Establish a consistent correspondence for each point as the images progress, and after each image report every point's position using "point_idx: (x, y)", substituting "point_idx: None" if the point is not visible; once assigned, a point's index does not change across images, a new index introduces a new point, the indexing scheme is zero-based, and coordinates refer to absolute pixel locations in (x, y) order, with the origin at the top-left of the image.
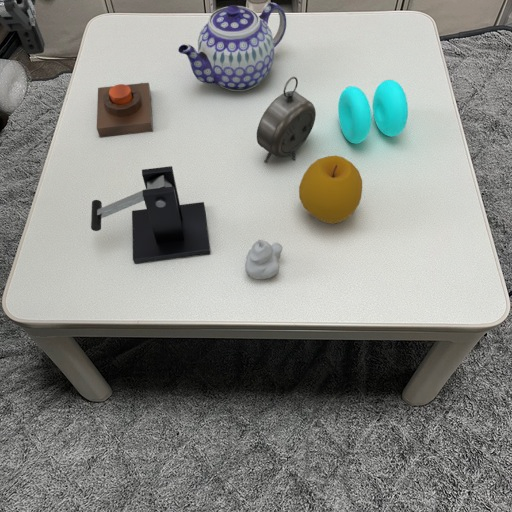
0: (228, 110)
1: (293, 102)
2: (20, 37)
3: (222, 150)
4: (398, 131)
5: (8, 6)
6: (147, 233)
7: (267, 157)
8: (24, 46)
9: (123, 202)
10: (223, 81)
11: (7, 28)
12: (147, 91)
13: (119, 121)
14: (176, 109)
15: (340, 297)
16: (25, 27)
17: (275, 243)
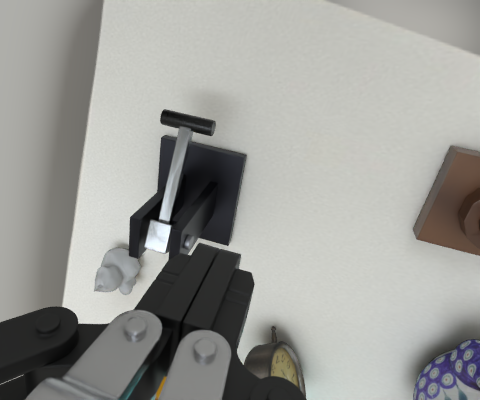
0: (397, 333)
1: None
2: (175, 282)
3: (319, 295)
4: None
5: None
6: (197, 166)
7: (272, 334)
8: (190, 259)
9: (171, 175)
10: (436, 366)
11: (4, 325)
12: None
13: (451, 194)
14: (446, 277)
15: (87, 301)
16: (21, 378)
17: (127, 291)
